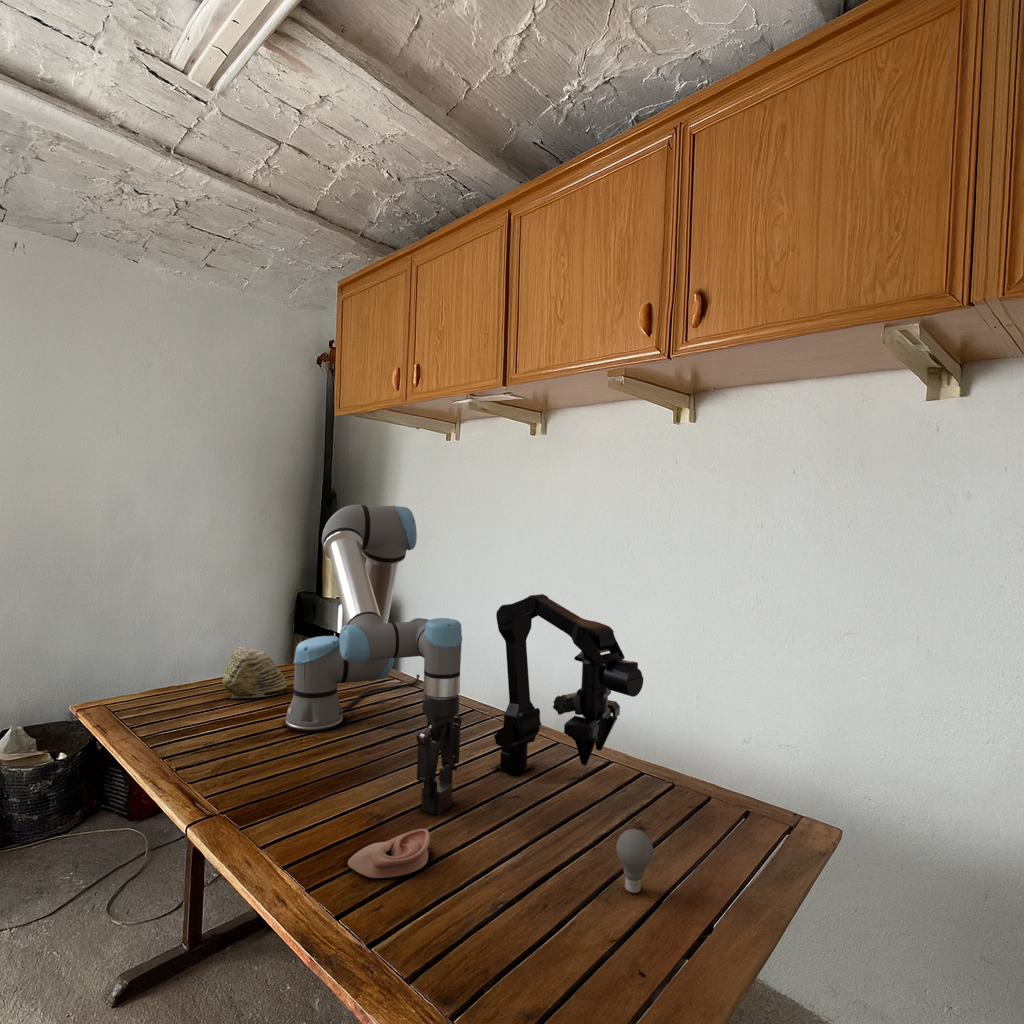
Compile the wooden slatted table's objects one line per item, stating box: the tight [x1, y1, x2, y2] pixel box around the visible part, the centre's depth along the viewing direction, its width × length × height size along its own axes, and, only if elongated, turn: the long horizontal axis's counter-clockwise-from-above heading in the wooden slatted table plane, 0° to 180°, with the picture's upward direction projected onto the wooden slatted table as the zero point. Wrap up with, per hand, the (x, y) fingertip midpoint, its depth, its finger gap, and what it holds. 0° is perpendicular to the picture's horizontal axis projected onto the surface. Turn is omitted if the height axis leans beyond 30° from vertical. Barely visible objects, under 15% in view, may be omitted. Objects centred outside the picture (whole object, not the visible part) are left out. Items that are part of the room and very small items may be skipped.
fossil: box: [222, 646, 288, 699], centre depth 198 cm, size 9×18×15 cm, turn 132°
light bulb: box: [615, 828, 654, 894], centre depth 106 cm, size 6×6×10 cm
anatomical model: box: [347, 828, 431, 879], centre depth 111 cm, size 13×4×12 cm
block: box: [420, 778, 453, 815], centre depth 131 cm, size 4×5×4 cm
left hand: (437, 806), depth 131 cm, fingers open, 5 cm apart
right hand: (591, 757), depth 135 cm, fingers open, 9 cm apart
